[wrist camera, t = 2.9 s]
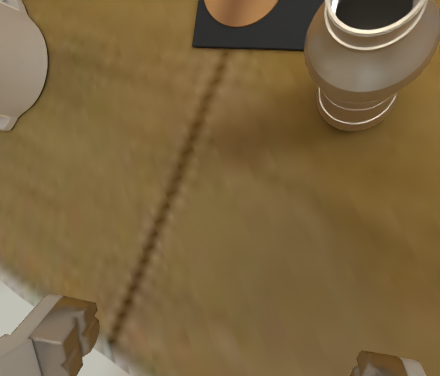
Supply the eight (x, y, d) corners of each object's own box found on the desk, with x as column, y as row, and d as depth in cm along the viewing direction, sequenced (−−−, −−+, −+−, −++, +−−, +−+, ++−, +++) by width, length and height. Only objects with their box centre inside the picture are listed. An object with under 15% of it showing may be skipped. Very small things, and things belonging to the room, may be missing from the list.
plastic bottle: (310, 81, 32) (268, -50, 13) (384, 55, 30) (457, -148, 11) (327, 143, 32) (306, 98, 13) (402, 122, 29) (509, 29, 11)
